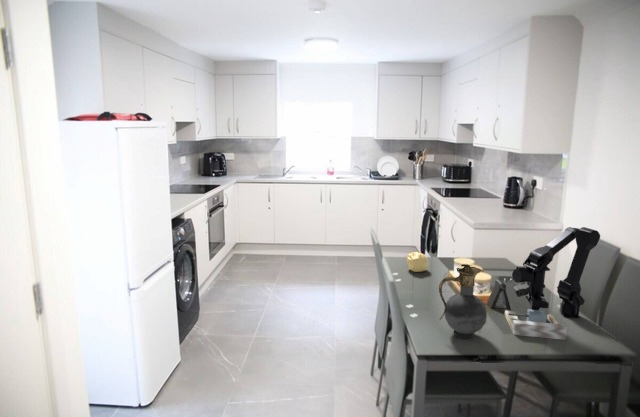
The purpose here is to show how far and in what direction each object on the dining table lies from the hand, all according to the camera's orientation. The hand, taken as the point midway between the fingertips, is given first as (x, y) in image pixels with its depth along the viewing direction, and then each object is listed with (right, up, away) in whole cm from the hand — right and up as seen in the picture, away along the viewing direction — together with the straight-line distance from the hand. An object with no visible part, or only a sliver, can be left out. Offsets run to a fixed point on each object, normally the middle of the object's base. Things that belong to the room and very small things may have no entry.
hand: (533, 314), depth 186 cm
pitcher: (-36, -5, -13) cm, 39 cm away
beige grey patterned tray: (-3, -3, -6) cm, 8 cm away
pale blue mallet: (-5, -3, -3) cm, 7 cm away
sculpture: (-36, +10, +62) cm, 72 cm away
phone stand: (-9, 0, +14) cm, 17 cm away
